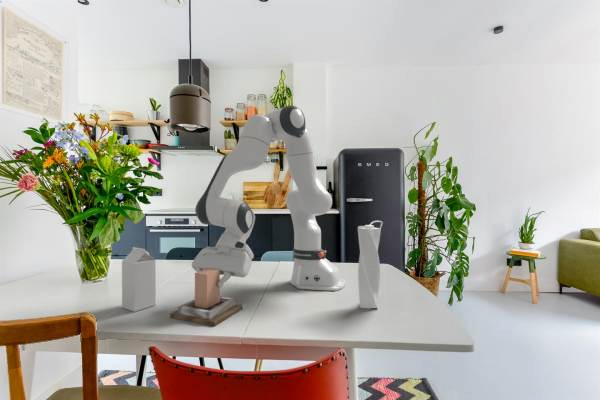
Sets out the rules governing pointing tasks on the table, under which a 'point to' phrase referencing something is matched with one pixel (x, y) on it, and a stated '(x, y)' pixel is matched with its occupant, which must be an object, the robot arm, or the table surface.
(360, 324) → the table surface
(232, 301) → the walnut board
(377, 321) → the table surface
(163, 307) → the table surface
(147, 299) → the milk carton
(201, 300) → the terracotta post
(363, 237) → the skyscraper
